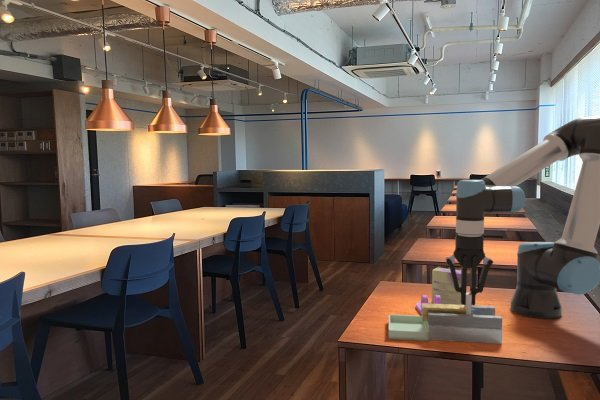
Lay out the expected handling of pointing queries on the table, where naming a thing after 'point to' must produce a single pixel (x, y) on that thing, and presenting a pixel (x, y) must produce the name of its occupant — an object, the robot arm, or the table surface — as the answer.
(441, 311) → the tan cube
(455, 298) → the box
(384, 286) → the table surface
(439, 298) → the bracket
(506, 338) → the table surface
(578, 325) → the table surface
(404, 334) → the tray
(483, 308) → the channel
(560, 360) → the table surface
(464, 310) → the beige cube
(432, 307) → the khaki cube
